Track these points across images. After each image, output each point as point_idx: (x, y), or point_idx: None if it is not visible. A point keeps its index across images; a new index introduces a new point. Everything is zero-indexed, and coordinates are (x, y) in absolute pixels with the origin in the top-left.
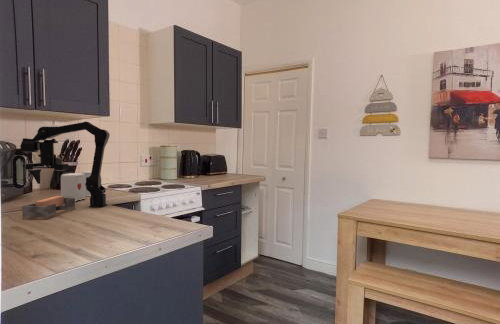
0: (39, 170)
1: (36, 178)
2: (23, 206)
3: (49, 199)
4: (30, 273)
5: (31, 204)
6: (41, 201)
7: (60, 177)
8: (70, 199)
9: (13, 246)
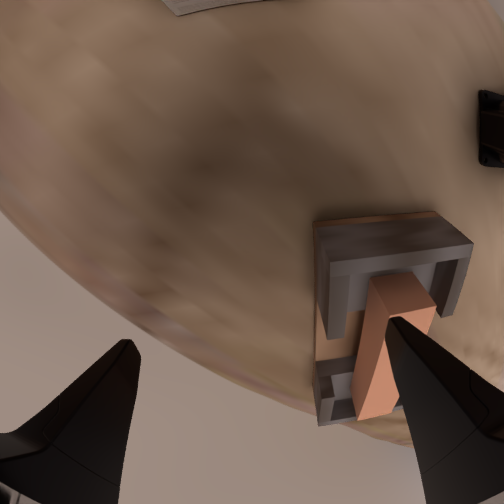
0: (34, 485)
1: (128, 430)
2: (322, 425)
3: (396, 387)
4: None
5: (331, 408)
6: (381, 413)
7: (468, 370)
8: (461, 286)
9: (406, 441)
